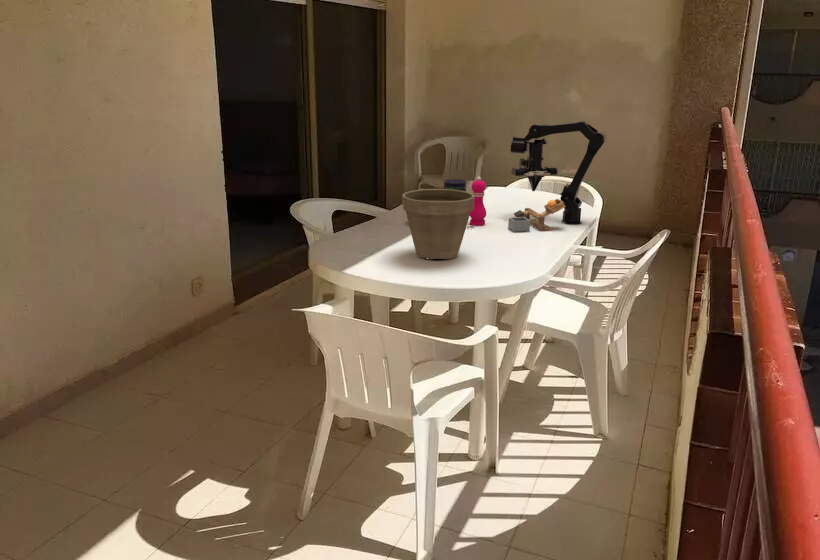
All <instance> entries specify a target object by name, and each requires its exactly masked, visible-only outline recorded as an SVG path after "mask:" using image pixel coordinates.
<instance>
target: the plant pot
mask: <svg viewBox="0 0 820 560" xmlns="http://www.w3.org/2000/svg"><path fill="white" fill-rule="evenodd" d="M401 199H402V209H403V210H404V211H405V213H406V218H407V223H408V227H409V230H410V234H411V239H412V242H413V246H414V250H415V254H416V256H417V255H418V257H419V256H420V257H419V258H421V257H423V258H422V259H424V258H428V259H427V260H429V259H448V260H451V259H450V258H452V259H455V258H456V257H458V255H459V252H460V249H461V246H462V243H463V239H464V235H465V233H466V231H467V230H466V228H467V226H468V223H469V220H470V212H471V211H472V210H473V207H474V195H473V193H471V192H468V191H466V192H465V191H459V190H450V189H444V188H426V189H425V188H423V189H422V190H421V189H416V190H415V189H414V190H410V191H406V192H404V193H402V196H401ZM454 257H455V258H454Z"/></svg>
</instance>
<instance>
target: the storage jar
mask: <svg viewBox="0 0 820 560" xmlns="http://www.w3.org/2000/svg"><path fill="white" fill-rule="evenodd" d="M443 189H450V190H459V191H465V192H467V181H466V180H465V179H461V178H460V179H459V178H458V179H456V178H452V179H451V178H450V179H449V178H448V179H445V180H444V181H443Z"/></svg>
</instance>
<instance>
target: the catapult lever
mask: <svg viewBox="0 0 820 560" xmlns="http://www.w3.org/2000/svg"><path fill="white" fill-rule="evenodd" d="M553 200H554V201H555V202H556V205H555V206H554V207H552V208H550V207H548V205H547V204H545V205H544V206H543V207H544V209H545V210H544V211H543V212H541V213H539V212H537V211H535V209H534V210H533V209H532V208H529V207H528V208H529V209H528V210H526V211H525V210H524V211H522V210H521V209H519V210H517V211H516V212H514V213H513V215H514V217H525V216H527V215H529V214H530V217H531V216H532V217H533V218H534V219H537V220H539V217H545V218H546V217H547V216H549V215H554V214H555V213H557V212H558V211H561V210H564V208H565V204H564V202H563V201H561V200H560V199H559V198H556V199H553Z"/></svg>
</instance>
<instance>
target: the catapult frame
mask: <svg viewBox="0 0 820 560" xmlns="http://www.w3.org/2000/svg"><path fill="white" fill-rule="evenodd" d="M528 209H529V207H526V208H524V211H526V210H528ZM530 217H531V215H530V214H529V215H527V216H525V218H527V219H528V220H530V224H531V225H530V226H532V225H533V226H534V227H533V226H532V227H533V228H535V227H536V228H537V230H538V229H539V230H538V231H539V232H550V231H553V228H552V227H551V226H548V225H547V224H545V222H546V219H545V218H546V217H539V220H538V219H536V218H530ZM536 228H535V229H536Z"/></svg>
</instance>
